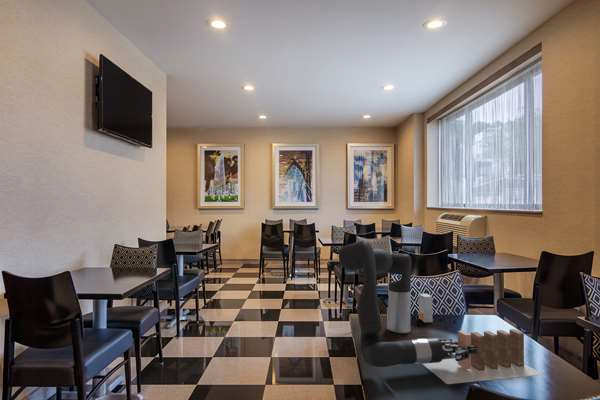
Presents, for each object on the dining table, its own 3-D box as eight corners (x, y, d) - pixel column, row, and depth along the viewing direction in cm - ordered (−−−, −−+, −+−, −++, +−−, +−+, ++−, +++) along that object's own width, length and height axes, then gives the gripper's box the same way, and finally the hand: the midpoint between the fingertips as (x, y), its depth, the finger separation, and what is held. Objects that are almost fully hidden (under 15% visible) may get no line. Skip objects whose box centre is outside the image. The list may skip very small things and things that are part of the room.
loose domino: (465, 369, 115) (465, 335, 116) (457, 364, 119) (457, 330, 120) (471, 369, 116) (470, 334, 116) (463, 363, 120) (463, 330, 120)
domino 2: (492, 369, 117) (492, 335, 118) (484, 364, 121) (483, 331, 122) (497, 368, 118) (497, 335, 118) (489, 363, 122) (489, 331, 122)
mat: (447, 386, 108) (447, 384, 108) (419, 363, 123) (419, 361, 123) (543, 376, 114) (543, 374, 114) (505, 355, 130) (505, 353, 130)
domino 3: (505, 368, 118) (505, 334, 119) (497, 362, 122) (496, 330, 122) (511, 367, 119) (510, 334, 119) (502, 362, 123) (501, 330, 123)
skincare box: (418, 318, 173) (418, 293, 173) (427, 318, 173) (427, 293, 173) (424, 322, 167) (424, 296, 167) (432, 322, 167) (432, 296, 167)
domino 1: (479, 370, 116) (478, 336, 117) (471, 365, 120) (470, 332, 121) (484, 370, 117) (484, 336, 117) (476, 364, 121) (476, 331, 121)
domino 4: (518, 366, 119) (518, 333, 120) (509, 361, 123) (509, 329, 123) (524, 366, 120) (523, 333, 120) (514, 361, 124) (514, 329, 124)
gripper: (436, 347, 108) (487, 343, 111) (413, 331, 122) (458, 328, 125) (436, 372, 108) (487, 367, 111) (413, 353, 122) (458, 350, 125)
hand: (471, 346), depth 118 cm, fingers closed on loose domino, 3 cm apart
